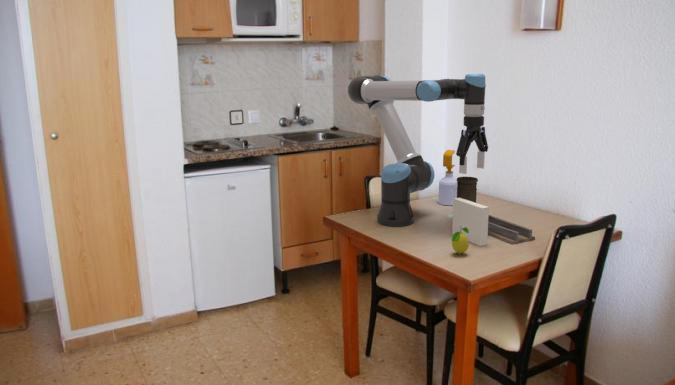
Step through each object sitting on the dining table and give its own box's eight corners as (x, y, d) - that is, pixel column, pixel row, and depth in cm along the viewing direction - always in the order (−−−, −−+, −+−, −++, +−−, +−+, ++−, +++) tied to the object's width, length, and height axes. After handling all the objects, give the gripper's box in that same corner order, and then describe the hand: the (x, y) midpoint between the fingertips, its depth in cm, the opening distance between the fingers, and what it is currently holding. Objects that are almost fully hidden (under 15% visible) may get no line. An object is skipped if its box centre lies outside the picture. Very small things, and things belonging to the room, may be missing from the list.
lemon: (468, 251, 193) (469, 223, 190) (471, 256, 187) (472, 228, 185) (448, 251, 193) (449, 223, 191) (451, 256, 187) (452, 228, 185)
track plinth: (512, 244, 199) (512, 233, 198) (468, 227, 220) (468, 217, 219) (534, 239, 204) (535, 229, 203) (489, 223, 225) (490, 213, 224)
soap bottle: (461, 202, 258) (463, 149, 252) (454, 206, 251) (455, 152, 245) (442, 200, 263) (444, 148, 257) (435, 204, 255) (436, 151, 250)
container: (477, 224, 223) (479, 181, 219) (454, 224, 225) (456, 180, 220) (476, 218, 231) (478, 176, 227) (454, 217, 233) (455, 175, 229)
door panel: (480, 246, 198) (482, 208, 194) (452, 234, 212) (453, 198, 208) (488, 244, 199) (490, 206, 196) (459, 232, 213) (461, 197, 210)
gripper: (465, 118, 199) (463, 177, 204) (498, 113, 217) (496, 167, 222) (447, 117, 204) (446, 174, 209) (481, 112, 222) (479, 164, 227)
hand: (471, 170), depth 215 cm, fingers open, 13 cm apart
